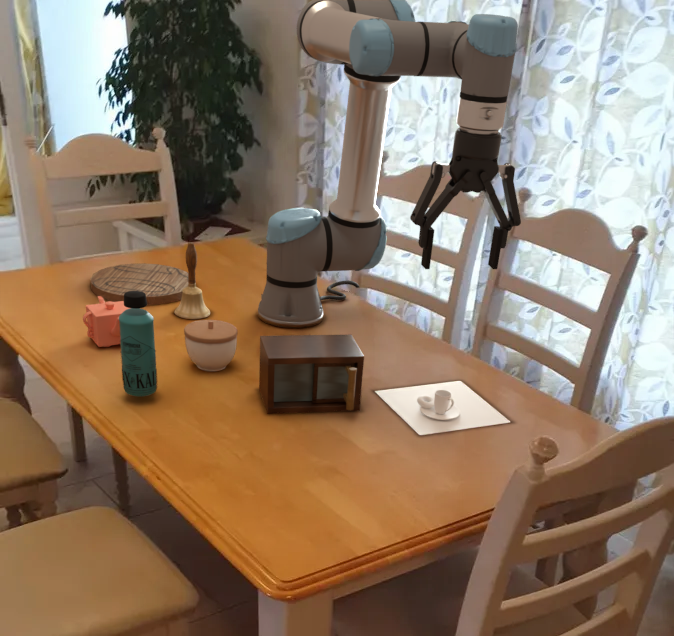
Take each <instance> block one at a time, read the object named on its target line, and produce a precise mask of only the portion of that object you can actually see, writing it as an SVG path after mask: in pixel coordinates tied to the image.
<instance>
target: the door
mask: <svg viewBox="0 0 674 636" xmlns="http://www.w3.org/2000/svg"><path fill="white" fill-rule="evenodd" d="M354 366H355V363H315V364H314V372H313V391H312V403H329V402H346V409H347V410H353V409H354V397H355V385H356V373H357V369H356V368H354Z"/></svg>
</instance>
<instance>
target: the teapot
mask: <svg viewBox="0 0 674 636" xmlns="http://www.w3.org/2000/svg"><path fill="white" fill-rule="evenodd" d="M97 299H98V303H92V304H86V305H85V313H84V315H83V316H82V321H83V324H84V325H85V326H86V327H87V332H86V333H87V334H86V335H87V337H88V338H90V339H91V340H92V341H93V342H94V343H95V345H97V346H98V347H99V348H100V347H104V348H110V347H111V346H116V345H120V344H121V342H120V324H119V316H120V315H121V314H122V313H123V312H124V311H125V310H127V309H131V308H128V307H125V306H124V301H118V302H113V301H109V300H107V301H105V299H103V297H101V296H97Z"/></svg>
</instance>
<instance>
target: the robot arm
mask: <svg viewBox="0 0 674 636" xmlns="http://www.w3.org/2000/svg"><path fill="white" fill-rule="evenodd" d="M295 28H296V36H297V37H296V38H297V41H298V44H299V46H300V48H301V49H302V51H303V52H304V54H306V55H307V56H308V57H310V58H311V59H313V60H315V61H317V62H321V63H325V64H331V65H339V66H340V65H341V66H343V73H344V75H345V76H346V77H347V79H348V81H349V86H348V87H349V88H348V89H349V90H348V95H347V105H346V112H345V113H346V114H345V122H344V132H343V140H342V149H341V158H340V166H339V167H340V168H339V176H338V183H337V195H336V199H335V200H333V201H332V202H330V203H329V205H328V214H327V215H326V216H322V215H321V213H320V211H319V210H317V209H314V208H311V207H305V208H304V207H292V208H287V209H282V210H280V211H277V212H275V213H274V214H272V215H271V216H270V217H269V218H268V223H267V230H266V231H267V232H266V237H265V240H266V281H265V285H264V289H263V292H262V293H261V294H260V295H261V296H260V301H259V304H258V308H257V316H258V318H259V320H261V321H262V322H264V323H265V324H268V325H271V326H274V327H280V328H287V329H304V328H311V327H314V326H316V325H318V324H320V323H322V321H323V320H324V308H323V304H322V301H327V300H329V301H330V300H331V301H344V300H345V299H346V298H347V295H346V294H345V293H344V292H341V291H337V290H334V289H333V288H336V287H339V286H344V285H350V286H353V287H355V288H356V289H359V288H360V285H359V284H358V283H357V282H355V281H354V280H347V279H346V280H340V281H335V282H333V283H331V284H330V285H328V286H327V287H326V291H327V292H328V293H329V294H332V295H321V296H320V292H319V289H318V273H319V272H343V271H344V272H346V271H355V272H359V271H362V270H363V271H364V270H371V269H373V268H375V267H376V266H377V265H379V264H380V262H381V261H382V259H383V257H384V253H385V251H386V246H387V240H388V237H387V236H388V235H387V232H388V230H387V229H388V228H387V224H386V220H385V219H384V218H383V216H381V210H380V209H379V207H378V206H377V205H376V201H377V193H378V187H379V180H380V174H381V173H380V172H381V165H382V160H383V159H382V158H383V152H384V144H385V138H386V131H387V123H388V115H389V111H390V110H389V109H390V103H391V97H392V88H393V87H394V86H395V85H396V84H398V83H399V82H400V81H401V79H402V77H425V78H427V77H428V78H454V79H459V80H461V82H460V91H459V100H458V106H457V114H456V119H455V120H456V121H455V124H456V125H457V126H458V127H457V128H456V130H454V136H453V144H452V152H451V159H450V161H449V163H445V162H444V163H443V162H442V163H441V162H439V161H437V160H434V161H433V162H432V163H431V167H430V173H429V177H428V179H427V181H426V182H425V185H424V187H423V190H422V191H421V193H420V195H419V197H418V200H417V202H416V204H415V206H414V208H413V210H412V212H411V214H410V217H409V219H410V221H411V222H412V223H413V224H414V225H415V226H418V227H419V233H418V241H417V243H418V246H419V247H420V248H421V249H422V255H421V262H420V265H421V266H422V268H423V269H425V270H430V269H431V263H432V262H431V261H432V252H433V244H434V237H435V229H434V228H433V227H432V226H433V224H434V223H435V222H436V221H437V220H438V218H439V217H440V215H441V214H442V213H443V212H444V211H445V209H446V208H447V207H448V205H449V204H450V203H451V202H452V200H453V199H454V198H455V197H457V196H458V195H459V193H460V192H462V193H471V192H473V193H475V194H481V193H483V194H484V196H485V198H486V201H487V202H488V204H489V206H490V209H491V211H492V212H493V215H494V217H495V219H496V221H497V223H498V225H495V226H493V230H492V231H493V232H492V236H491V245H490V249H489V256H488V263H487V265H488V266H489V267H490V268H491V269H492V270H498V267H499V261H500V255H501V250H502V249H506V246H507V242H508V236H509V232H510V231H512V229H513V227H519V226H520V225H521V224H522V219H521V214H520V210H519V202H518V197H517V191H516V188H515V187H516V186H515V182H514V181H515V172H516V167H515V166H513V165H512V164H511V163H508V162H505V163H504V164H499V163H498V159H499V156H500V149H501V142H502V134H501V132H500V131H501V130H502V129H503V128H504V123H505V118H506V117H505V116H506V109H507V103H508V96H509V92H510V86H511V79H512V73H513V69H514V68H513V67H514V62H515V56H516V52H517V47H518V46H517V38H518V30H519V25H518V21H517V20H516V19H515V18H514V17H512V16H505V15H501V14H491V13H490V14H489V13H475V14H473V15H472V16H471V17H470V20H469V23H467V22H465V21H463V20H461V21H457V20H449V21H444V22H437V21H432V22H431V21H416V18H415V14H414V11H413V9H412V6H411V4H410V3H409V2H408V1H407V0H310V1H309V2H307V4H305V6H304V7H303V8H302V9H301V11H300V13H299V15H298V18H297V20H296V27H295ZM447 173H449V175H450V179H449V181H448V182H447V183H446V184H445V187H444V189H443V190H442V191H441V193H440V194H439V195H438V197H437V198H436V199H435V201H433V198H434V197H435V194H436V192H437V190H438V188H439V186H440V184H441V181H442V179H443V178H445V176H446V175H447ZM497 175H498V176H499V178H500V179H501V184H502V189H503V194H504V201H505V205H506V210H507V215H506V212H505V211H504V209H503V206H502V203H501V202H500V200H499V197H498V196H497V194H496V190H495V188H494V185H493V184H492V181H493V180H494V179H495V178H496V176H497ZM432 201H433V203H432ZM431 203H432V204H431ZM430 205H431V206H430ZM507 216H508V217H507Z"/></svg>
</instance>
